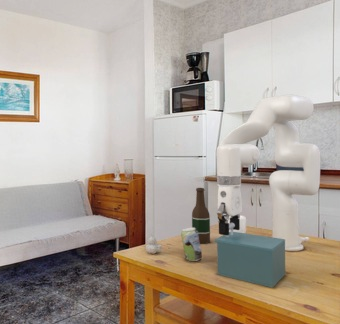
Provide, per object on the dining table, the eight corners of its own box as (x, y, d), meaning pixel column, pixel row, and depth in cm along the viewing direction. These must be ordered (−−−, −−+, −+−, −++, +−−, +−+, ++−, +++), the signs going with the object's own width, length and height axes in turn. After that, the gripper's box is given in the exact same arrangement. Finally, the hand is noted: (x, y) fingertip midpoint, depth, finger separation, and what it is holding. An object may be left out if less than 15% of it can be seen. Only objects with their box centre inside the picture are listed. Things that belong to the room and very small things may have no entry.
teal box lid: (214, 241, 112) (214, 226, 111) (230, 233, 121) (230, 219, 121) (272, 251, 100) (272, 234, 99) (285, 241, 109) (284, 226, 109)
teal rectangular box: (217, 274, 112) (217, 242, 111) (233, 263, 121) (233, 233, 121) (272, 287, 100) (272, 251, 100) (285, 274, 110) (285, 241, 109)
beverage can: (203, 263, 123) (202, 230, 122) (182, 262, 124) (181, 230, 124) (201, 257, 129) (200, 226, 128) (181, 256, 130) (180, 226, 130)
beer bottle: (212, 240, 152) (211, 187, 151) (208, 244, 145) (207, 189, 144) (194, 238, 156) (193, 186, 155) (189, 242, 149) (188, 188, 148)
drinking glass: (245, 253, 133) (245, 215, 132) (247, 258, 126) (247, 218, 126) (226, 251, 135) (226, 214, 134) (227, 257, 128) (227, 218, 128)
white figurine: (147, 250, 139) (146, 231, 139) (163, 252, 137) (162, 232, 137) (144, 254, 134) (143, 234, 134) (160, 256, 132) (160, 236, 132)
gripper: (229, 184, 105) (230, 239, 106) (249, 179, 118) (250, 228, 119) (206, 183, 111) (207, 235, 111) (228, 178, 123) (228, 225, 124)
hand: (229, 231), depth 115 cm, fingers open, 8 cm apart
